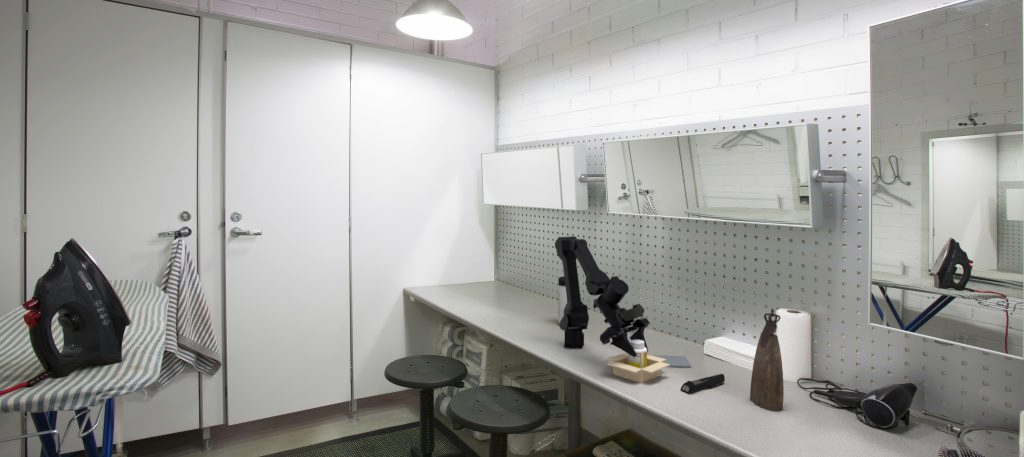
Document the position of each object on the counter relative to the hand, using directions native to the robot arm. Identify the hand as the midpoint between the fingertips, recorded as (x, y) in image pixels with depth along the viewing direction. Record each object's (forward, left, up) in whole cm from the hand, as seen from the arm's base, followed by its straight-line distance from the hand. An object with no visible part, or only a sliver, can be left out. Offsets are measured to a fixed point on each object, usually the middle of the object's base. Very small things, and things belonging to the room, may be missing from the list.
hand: (641, 354), depth 157 cm
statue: (+30, -17, -7) cm, 35 cm away
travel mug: (-25, +58, -7) cm, 63 cm away
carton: (-1, +1, -7) cm, 7 cm away
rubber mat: (+11, +14, -7) cm, 19 cm away
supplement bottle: (-1, +1, -7) cm, 7 cm away
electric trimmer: (+16, -7, -7) cm, 19 cm away
